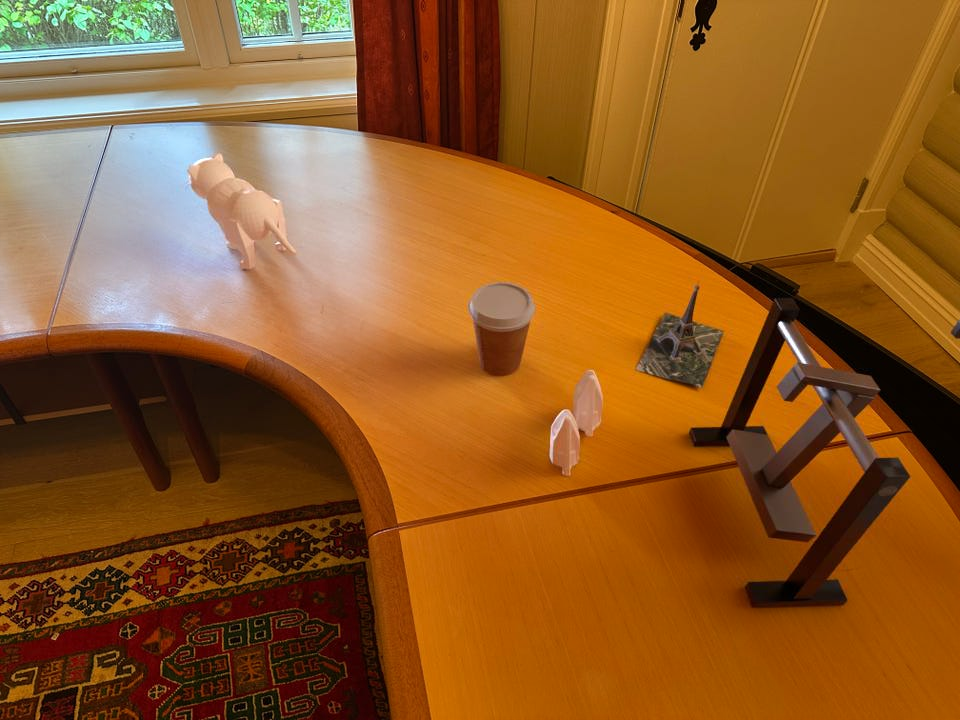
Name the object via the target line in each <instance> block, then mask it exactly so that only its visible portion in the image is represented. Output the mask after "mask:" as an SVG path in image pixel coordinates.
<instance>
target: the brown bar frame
mask: <svg viewBox="0 0 960 720" xmlns="http://www.w3.org/2000/svg"><path fill="white" fill-rule="evenodd" d="M808 386H811V387H813V386H817V387H823V388H828V389H834V390H836V391H837V392H838V394H839V395H840V397H841V398H842V400H843V402H844V403H845V405H846V406H847V408H848V409H849V411H850V413H851V414H852V416H853V417H854V419H856V417H858V415H860V413H862V411H864V410H865V409H866V408H867V407H868V406H869V405H870V404H871V403H872V402H873V401H874V400H875V396H876V395H877V394H878V393H880V392H881V389H880V387H879V386H878V384H877V383H876V382H875V380H874V379H873V377H872V376H871V375H867V374H862V373H858V372H852V371H846V370H842V369H836V368H830V367H824V366H821V367H820V366H815V365H809V364H804V363H799V362H798V361H797V362H795V363H794V365H793V366H792V367H791V368H790V369H789V371H788V372H787V373H786V374H785V375H784V376H783V378H782V379H781V380H780V381H779V382H778V384H777V385H776V388H777V391H778V393H779V394H780V396H781V398H782V400H783V401H784V402H789V403H793V402H794V401H795V400H796V399H797V398H798V397H799V395H801V394H802V392H803V391H804V390H805V389H806V388H807V387H808ZM840 434H841V432H840V431H839V429H838V427H837V426H836V424H835V422H834V421H833V419H832V417H831V416H830V414H829V412H828V411H827V409H826V407H825V406H824V404H823V403H821V405H820V406H819V407H818V408H817V409H816V410H815V411H814V412H813V413H812V415H811V416H810V417H809V418H808V419H806V420H805V422H804V423H803V424H802V425H801V426H800V427H799V428H798V429H797V430H796V431H795V432H794V433H793V435H792V436H790V438H789V439H788V440H786V442H784V444H783V445H782V446H781V447H780V448H779V450H776V448H775V446H774V444H773V442H772V439H771V438H770V435H769V434H768V435H765V434H759V433H753V432H746V431H740V430H734V429H733V430H732V431H731V432H730V433H729V435H728V436H727V437H726V438H727V440H728V443H729V445H730V446H729V448H730V450H731V452H732V455H733V457H734V459H735V461H736V465H737V466H738V469H739V471H740V474H741V476H742V479H743V481H744V483H745V486H746V488H747V490H748V494H749V495H750V497H751V500H752V503H753V505H754V507H755V510H756V512H757V514H758V516H759V519H760V522H761V524H762V526H763V528H764V531H765V533H766V536H767V538H768V539H774V540H775V539H777V540H784V541H791V542H801V543H809V542H811V540H813V539H814V538H815V537H816V536H817V533H816V531H815V528H814V527H813V525H812V523H811V521H810V518H809V516H808V514H807V513H806V510H805V508H804V506H803V504H802V502H801V500H800V498H799V496H798V494H797V492H796V489H795V488H794V485H793V483H792V480H794V478H796V476H797V475H798V474H800V473H801V471H803V470H804V469H805V468H806V467H807V466H808V465H809V464H810V463H811V462H812V461H813V460H814V459H815V458H816V457H817V456H818V455H819V454H820V453H821V452H823V450H824V449H825V448H826V447H827V446H828V445H829V444H830V443H831V442H832V441H833V440H834V439H835V438H836V437H837V436H838V435H840Z"/></svg>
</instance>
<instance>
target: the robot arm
mask: <svg viewBox="0 0 960 720" xmlns="http://www.w3.org/2000/svg"><path fill="white" fill-rule="evenodd" d="M950 334H951V335H952V336H953V337H954V338H955V339H957V340H958V339H960V319H959V320H957V322H956V323H955V325H954V326H953V327H952V329H951V331H950Z"/></svg>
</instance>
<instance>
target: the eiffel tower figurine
mask: <svg viewBox="0 0 960 720" xmlns="http://www.w3.org/2000/svg"><path fill="white" fill-rule="evenodd" d="M699 283H700V279H698V282H697V284H696V285H694V286H693V291H692V294H691V297H690V299H689V302H688V304H687V307H686V309H685V310H684V313H683V314H682V315H683V316H682V317H680V316H677V315H674V314H672V313H668V312H664V313H663V315H662V317H661V319H660V320H659V322H658V325H657V326H656V328H655V331H654V333H653V334H652V336H651V338H650V340H649V342H648V344H647V346H646V348H645V350H644V352H643V354H642V356H641V358H640V359H639V362H638V364H637V365H636V367H635V369H634V370H635V371H639V372H642V373H645V374H649V375H652V376H656V377H660V378H662V379H667V380H671V381H676V382H681V383H685V384H688V385H693V386H696V387H700V388H703V387H704V384H705V381H706V380H707V377H708V374H709V372H710V369H711V366H712V363H713V361H714V358H715V355H716V353H717V351H718V347H719V346H720V342H721V340H722V338H723V335H724V333H725V331H724V330H722V329H719V328H716V327H712V326H709V325H706V324H703V323H699V322H697V321H694V320H693V319H694V318H693V317H694V311H695V307H696V301H697V297H698V294H699V293H698V291H700V286H699Z"/></svg>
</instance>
